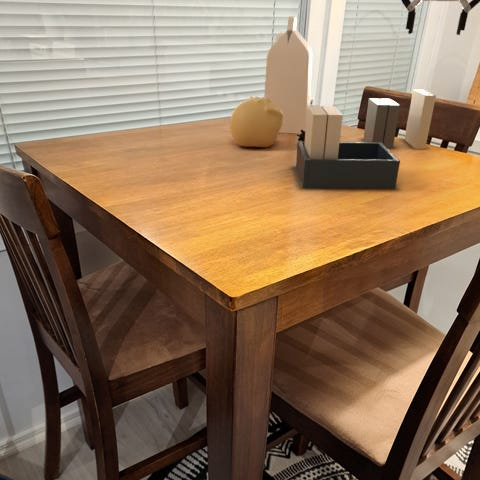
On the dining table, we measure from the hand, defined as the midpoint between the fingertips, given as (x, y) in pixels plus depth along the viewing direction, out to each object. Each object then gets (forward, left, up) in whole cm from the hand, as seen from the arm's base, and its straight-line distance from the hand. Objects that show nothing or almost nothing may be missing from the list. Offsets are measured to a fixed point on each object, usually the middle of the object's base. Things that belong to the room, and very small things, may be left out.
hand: (433, 34), depth 105 cm
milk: (+28, -21, -24) cm, 43 cm away
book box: (+21, +27, -24) cm, 41 cm away
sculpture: (+37, -1, -24) cm, 44 cm away
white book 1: (+27, +27, -23) cm, 44 cm away
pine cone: (+22, -2, -24) cm, 33 cm away
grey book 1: (+9, -1, -24) cm, 25 cm away
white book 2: (+25, +27, -23) cm, 43 cm away
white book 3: (-1, -1, -24) cm, 24 cm away
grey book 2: (+7, -1, -24) cm, 24 cm away
